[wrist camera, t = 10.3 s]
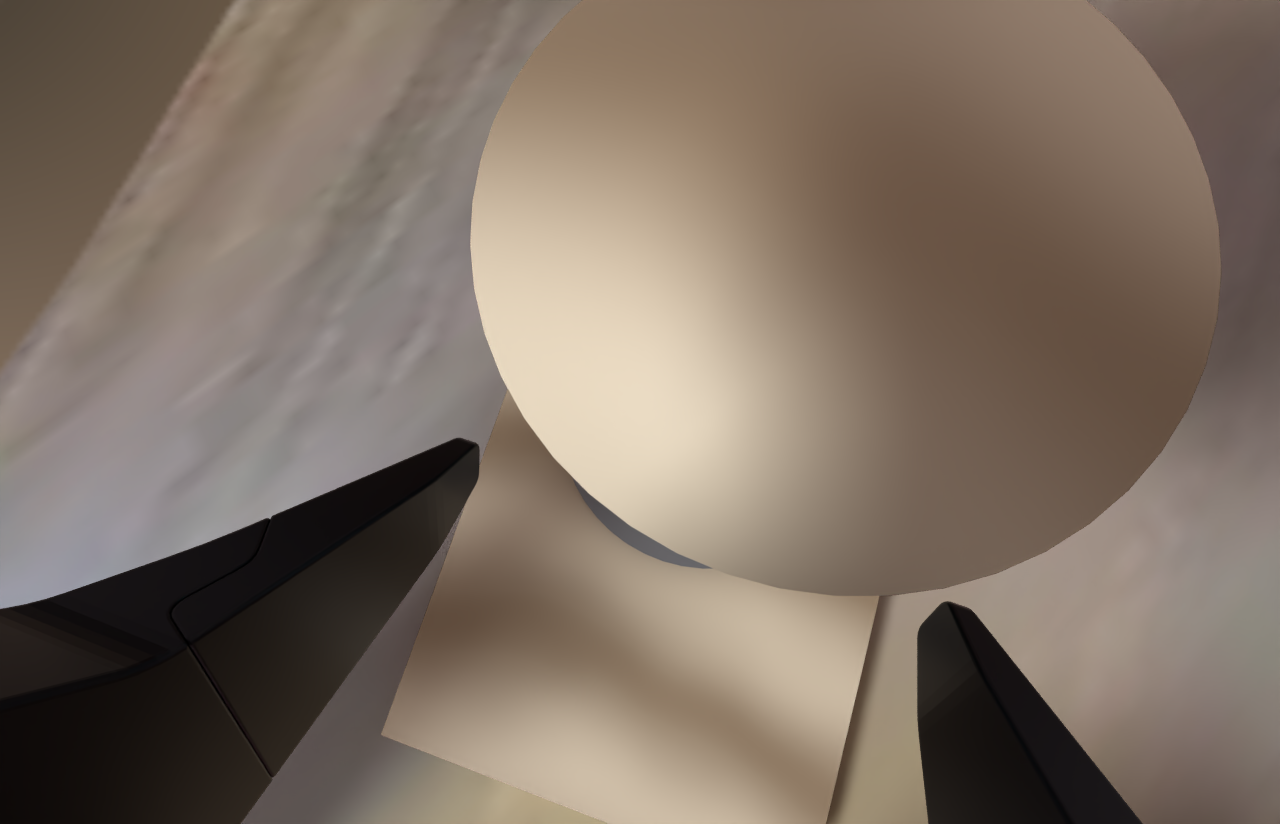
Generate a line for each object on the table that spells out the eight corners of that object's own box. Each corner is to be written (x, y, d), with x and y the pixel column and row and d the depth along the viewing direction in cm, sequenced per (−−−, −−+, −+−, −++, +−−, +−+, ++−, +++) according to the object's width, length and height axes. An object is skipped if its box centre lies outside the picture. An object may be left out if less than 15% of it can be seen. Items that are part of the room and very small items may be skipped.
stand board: (794, 865, 17) (810, 909, 15) (403, 715, 18) (375, 739, 16) (929, 306, 20) (956, 287, 18) (586, 212, 21) (578, 186, 19)
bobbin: (784, 569, 17) (1210, 816, 4) (563, 494, 17) (282, 484, 4) (844, 353, 18) (1334, -34, 5) (635, 290, 18) (577, -195, 6)
